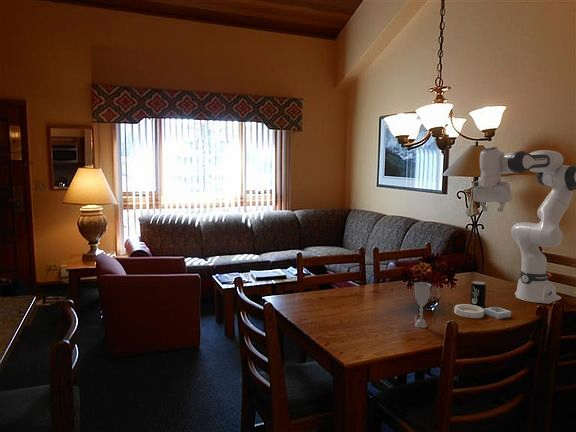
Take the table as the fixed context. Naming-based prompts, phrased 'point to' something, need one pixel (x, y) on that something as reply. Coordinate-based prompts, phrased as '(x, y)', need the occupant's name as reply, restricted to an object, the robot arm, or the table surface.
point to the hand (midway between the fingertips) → (492, 211)
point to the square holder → (497, 312)
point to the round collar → (469, 311)
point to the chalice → (422, 300)
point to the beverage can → (478, 294)
